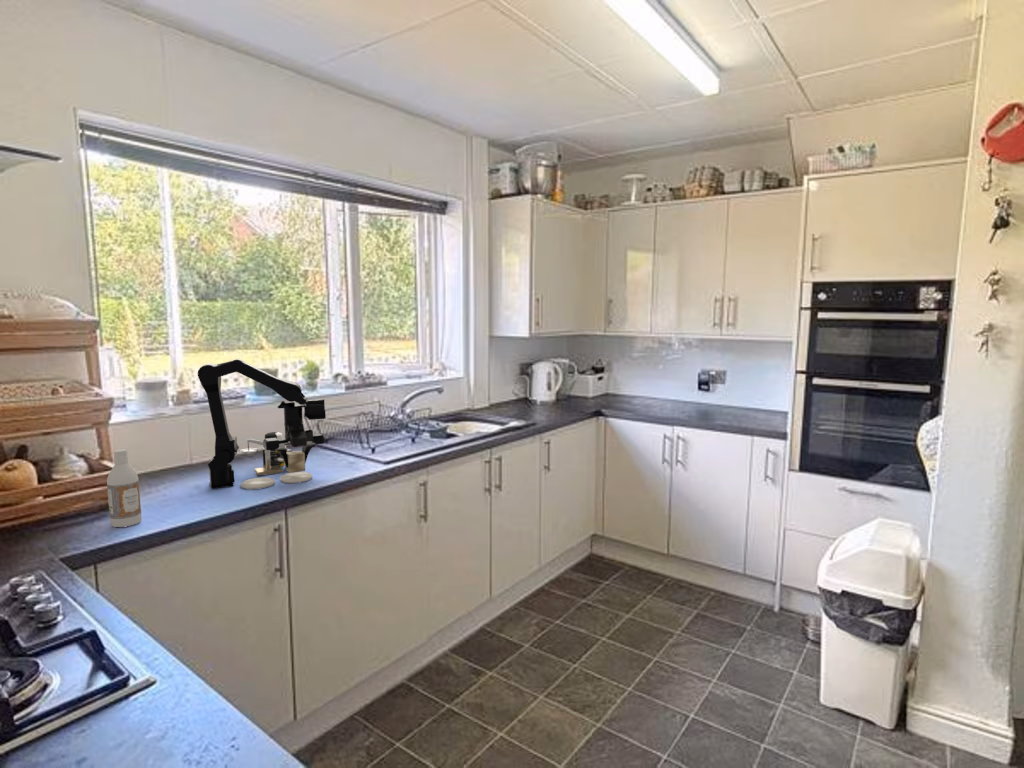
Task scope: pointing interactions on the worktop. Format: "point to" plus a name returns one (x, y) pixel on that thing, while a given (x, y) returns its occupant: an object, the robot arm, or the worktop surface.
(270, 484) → the dish left
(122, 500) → the bath foam
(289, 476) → the dish right
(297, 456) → the beech block
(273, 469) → the balance
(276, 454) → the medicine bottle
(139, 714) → the worktop surface
